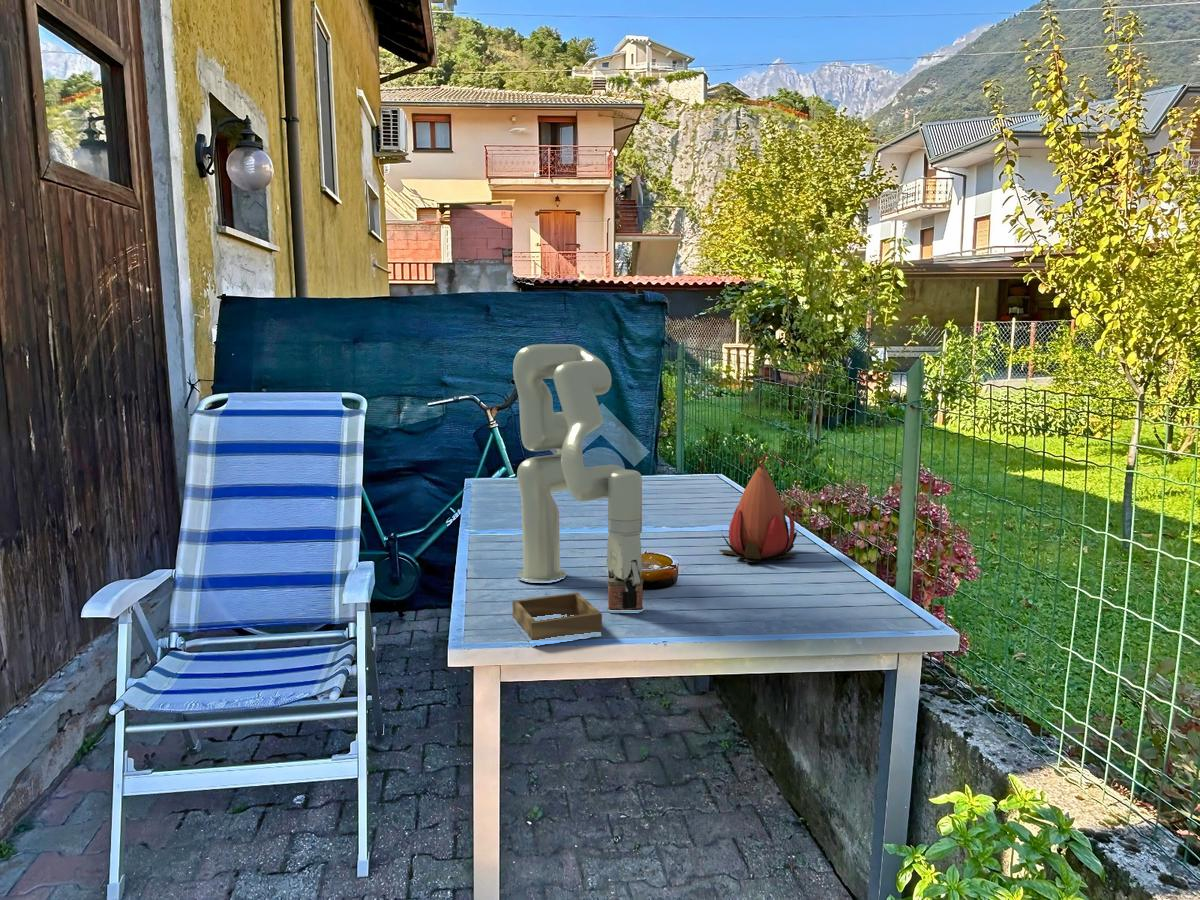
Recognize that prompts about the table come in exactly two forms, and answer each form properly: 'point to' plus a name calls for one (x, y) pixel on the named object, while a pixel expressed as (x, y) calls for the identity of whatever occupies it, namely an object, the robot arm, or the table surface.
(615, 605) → the lighter
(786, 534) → the decorative flower
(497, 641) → the table surface
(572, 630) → the walled box
